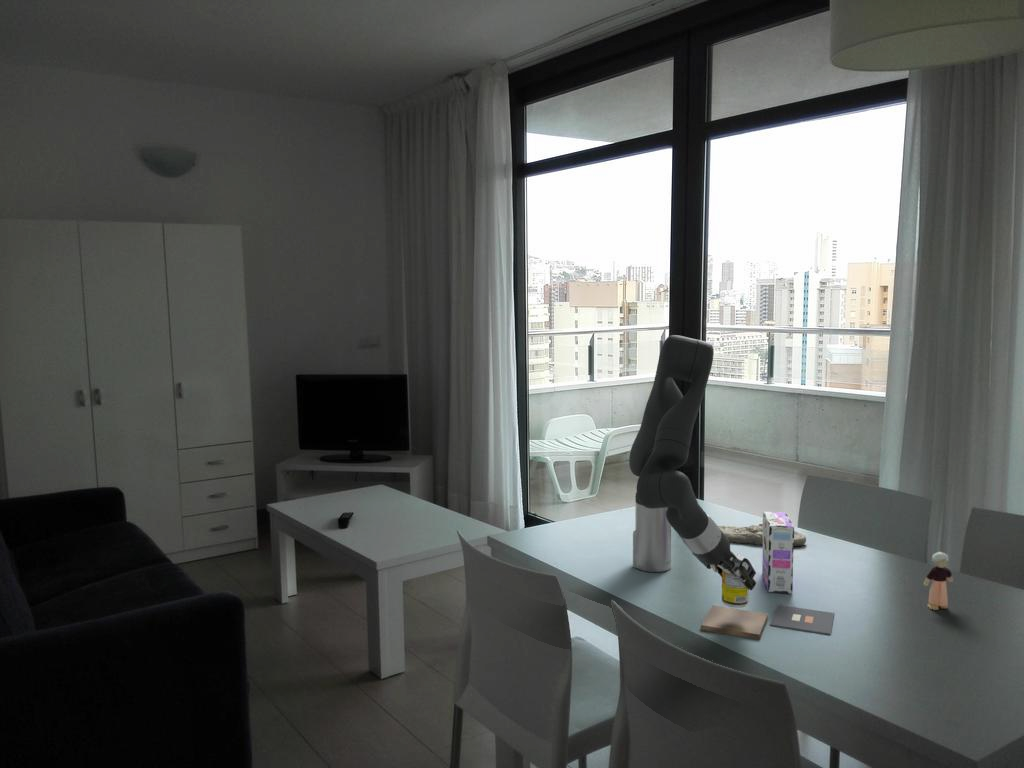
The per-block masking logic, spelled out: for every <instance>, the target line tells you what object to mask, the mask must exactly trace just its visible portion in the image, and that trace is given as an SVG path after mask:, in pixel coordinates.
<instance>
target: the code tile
mask: <svg viewBox="0 0 1024 768" xmlns="http://www.w3.org/2000/svg"><path fill="white" fill-rule="evenodd" d="M775 607H776V608H775V610H774V613H773V615H772V618H771V621H770V624H769V626H771V627H777V628H782V629H789V630H796V631H803V632H807V633H815V634H821V635H828V636H831V633H832V628H833V623H834V617H835V612H831V611H830V612H829V611H822V610H816V609H809V608H804V607H803V608H802V607H795V606H787V605H781V604H777V605H776V606H775Z"/></svg>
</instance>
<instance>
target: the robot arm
mask: <svg viewBox="0 0 1024 768" xmlns="http://www.w3.org/2000/svg"><path fill="white" fill-rule="evenodd" d="M714 351H715V350H714V347H713V344H712V343H710V342H708V341H704V340H702V339H701V340H700V339H696V338H691V337H687V336H683V335H676V334H671V335H669V336H668V337H666V339H665V340H664V342H663V344H662V346H661V349H660V353H659V356H658V362H657V367H656V371H655V376H654V382H653V385H652V387H651V391H650V394H649V397H648V399H647V401H646V404H645V408H644V411H643V417H642V421H641V424H640V427H639V431H638V432H637V434H636V436H635V438H634V441H633V443H632V446H631V448H630V451H629V459H628V460H629V461H628V463H629V469H630V472H631V473H632V474H633V475H634V476H636V477H638V480H637V483H636V492H635V500H634V501H635V504H634V505H635V513H634V514H635V517H634V518H635V526H634V527H635V530H634V531H633V533H632V568H634V569H635V568H636V569H639V570H641V571H645V572H650V573H661V572H665V571H669V570H670V569H671V568H672V529H673V530H674V531H675V533H677V535H678V536H679V537H680V539H681V540H682V542H683V544H685V546H686V547H687V548H688V550H690V552H691V553H692V555H693V556H694V557H695V558H697V560H698V561H699V562H700V563H701V564H702V565H703V566H704V567H705V568H706V569H708V570H711V569H712V571H713V572H714V573H717V574H718V575H719V576H720V577H721V578H722V569H724V570H725V571H727V572H728V573H729V574H730V575H731V576H736V577H737V578H739V579H740V580H741V581H742V583H743V584H744V585H745V586H746V587H747V589H749V590H750V591H752V590H754V588H755V587H756V584H757V582H756V580H755V579H754V577H755V575H756V574H757V571H756V570H755V569H754V567H753V565H752V563H751V562H750V560H749V559H748V558H746V557H745V558H744V559H743V560H742V561H741V560H739V559H738V558H737V557H736V556H735V555H736V554H734V552H732V550H731V544H730V543H731V542H729V540H728V538H727V537H726V535H725V534H724V533H723V532H722V531H721V529H720V528H719V527H718V526H719V525H718V524H717V523H716V522H715V521H714V519H712V517H710V516H709V515H708V514H707V513H706V511H705V510H704V509H703V508H702V507H701V506H700V505H701V504H699V502H698V500H697V497H696V495H695V492H694V490H693V486H692V483H691V480H690V479H689V477H688V476H687V475H686V474H685V473H684V472H682V471H680V470H679V471H678V470H676V469H679V468H681V467H684V465H686V463H687V461H688V459H689V453H690V447H691V441H692V437H693V436H692V435H693V431H694V426H695V423H696V419H697V416H698V413H699V411H700V407H701V405H702V401H703V397H704V394H705V392H706V388H707V384H708V380H709V378H710V374H711V371H712V366H713V361H714ZM674 379H676V380H680V381H685V382H689V383H691V385H690V387H689V389H688V391H687V392H686V393H685V394H684V395H683V393H682V391H681V390H680V389H679V387H678V386H677V385H678V384H676V382H675V380H674ZM735 565H736V567H735V568H734V566H735ZM733 568H734V570H733V571H732V569H733ZM739 572H741V574H742V576H741V575H740V574H739Z"/></svg>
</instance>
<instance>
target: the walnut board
mask: <svg viewBox="0 0 1024 768" xmlns="http://www.w3.org/2000/svg"><path fill="white" fill-rule="evenodd" d="M768 619H769V613H766V612H759V611H753V610H752V611H751V610H745V609H740V608H735V607H728V606H727V607H725V606H719V605H711V607H710V609H709V610H708V612H707V613H706V616H705V617H704V618H703V621H702V623H701V624H700V630H701V631H705V632H706V631H708V632H713V633H719V634H725V635H731V636H738V637H742V638H743V637H744V638H749V639H756V640H761V639H760V638H761V637H762V634H763V631H764V629H765V627H766V625H767V621H768Z"/></svg>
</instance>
